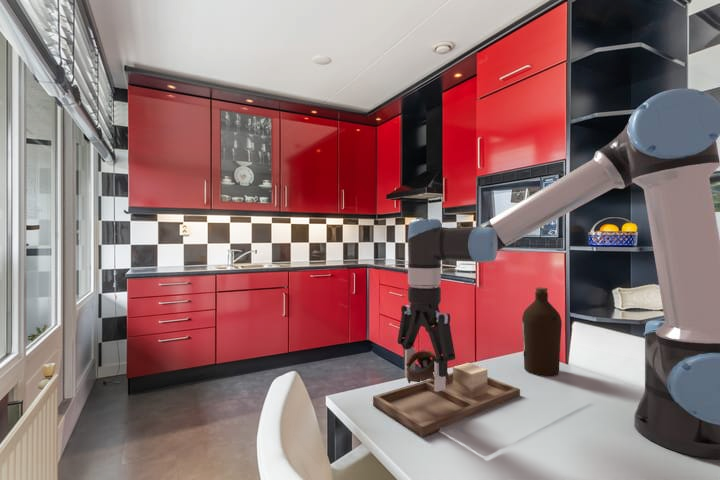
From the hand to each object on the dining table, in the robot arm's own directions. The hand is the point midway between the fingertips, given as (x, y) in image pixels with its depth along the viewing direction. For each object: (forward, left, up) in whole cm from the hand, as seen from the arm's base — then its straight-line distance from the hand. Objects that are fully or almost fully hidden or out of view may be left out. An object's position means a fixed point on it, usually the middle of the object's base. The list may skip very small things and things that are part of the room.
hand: (424, 382), depth 84 cm
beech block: (0, -16, -6) cm, 17 cm away
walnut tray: (0, -8, -6) cm, 10 cm away
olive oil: (-1, -47, -7) cm, 47 cm away
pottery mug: (0, -2, 0) cm, 2 cm away
